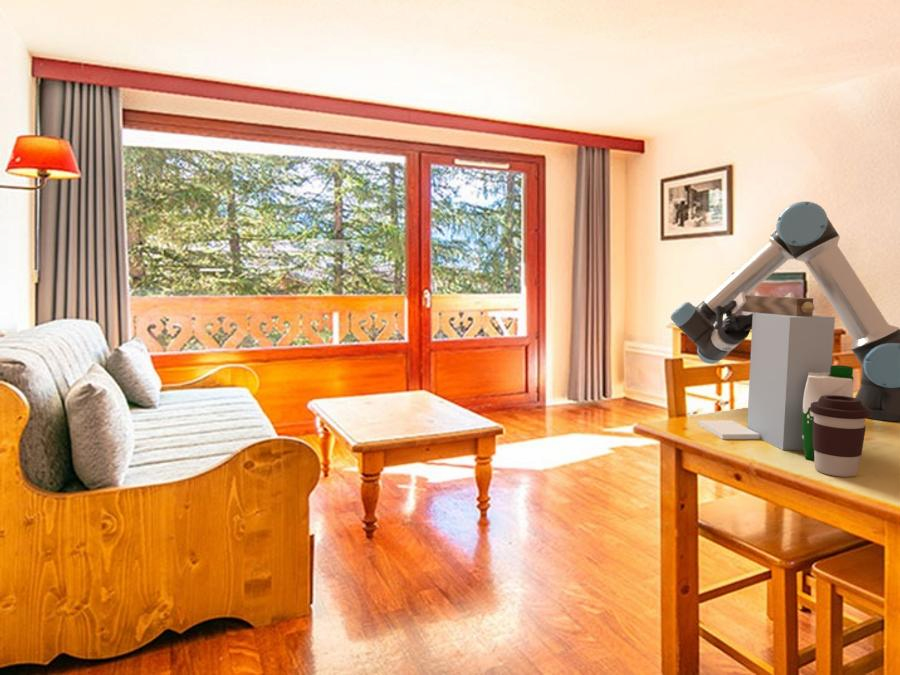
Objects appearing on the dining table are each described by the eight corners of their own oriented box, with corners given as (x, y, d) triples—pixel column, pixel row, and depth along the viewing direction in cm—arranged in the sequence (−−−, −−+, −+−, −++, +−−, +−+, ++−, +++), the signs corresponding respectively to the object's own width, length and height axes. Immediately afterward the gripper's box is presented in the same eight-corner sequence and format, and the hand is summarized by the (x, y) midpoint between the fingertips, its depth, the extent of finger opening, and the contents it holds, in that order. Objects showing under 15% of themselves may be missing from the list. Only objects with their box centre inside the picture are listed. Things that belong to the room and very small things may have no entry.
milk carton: (850, 466, 126) (856, 370, 124) (799, 459, 130) (805, 367, 128) (847, 455, 133) (853, 364, 131) (799, 449, 138) (805, 361, 136)
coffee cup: (808, 475, 120) (812, 400, 119) (805, 461, 129) (809, 391, 127) (868, 483, 115) (874, 405, 114) (862, 468, 124) (867, 396, 123)
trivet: (759, 439, 147) (759, 434, 147) (722, 439, 146) (722, 434, 146) (731, 424, 161) (731, 420, 160) (697, 425, 160) (697, 420, 160)
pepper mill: (819, 316, 136) (820, 298, 135) (803, 316, 135) (804, 298, 135) (746, 310, 161) (747, 295, 161) (732, 310, 161) (733, 295, 160)
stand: (826, 449, 138) (834, 317, 135) (782, 450, 137) (790, 317, 134) (786, 431, 153) (792, 312, 150) (746, 432, 153) (752, 312, 150)
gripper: (775, 345, 171) (819, 310, 151) (690, 345, 170) (723, 310, 151) (769, 320, 174) (811, 283, 154) (685, 321, 173) (717, 283, 154)
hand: (768, 296), depth 152 cm, fingers open, 12 cm apart
